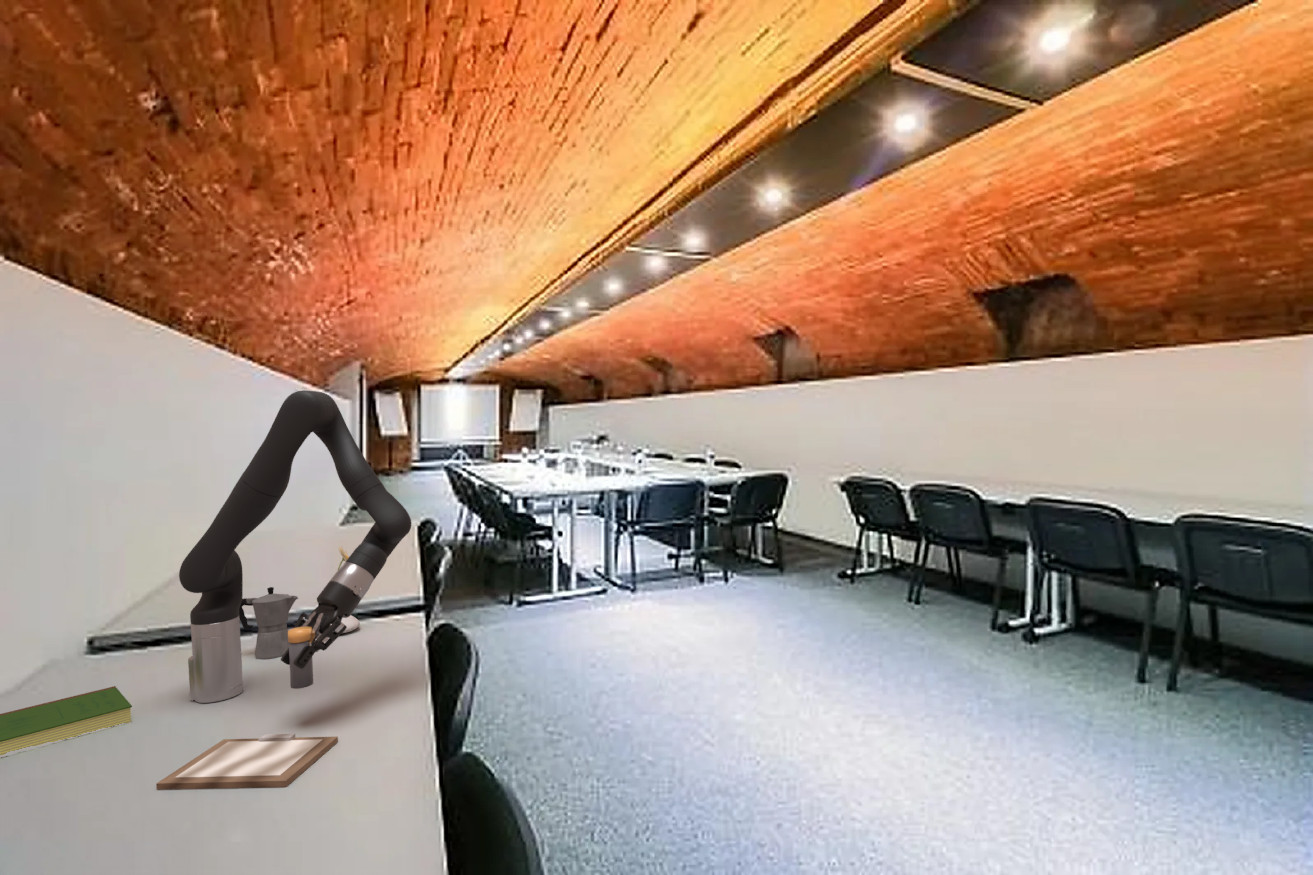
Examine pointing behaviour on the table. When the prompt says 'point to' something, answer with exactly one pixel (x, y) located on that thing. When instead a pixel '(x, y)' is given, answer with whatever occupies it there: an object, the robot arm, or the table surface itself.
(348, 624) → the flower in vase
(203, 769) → the clipboard
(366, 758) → the table surface
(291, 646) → the orange and grey cylinder
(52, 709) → the hardcover book
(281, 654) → the coffeepot
